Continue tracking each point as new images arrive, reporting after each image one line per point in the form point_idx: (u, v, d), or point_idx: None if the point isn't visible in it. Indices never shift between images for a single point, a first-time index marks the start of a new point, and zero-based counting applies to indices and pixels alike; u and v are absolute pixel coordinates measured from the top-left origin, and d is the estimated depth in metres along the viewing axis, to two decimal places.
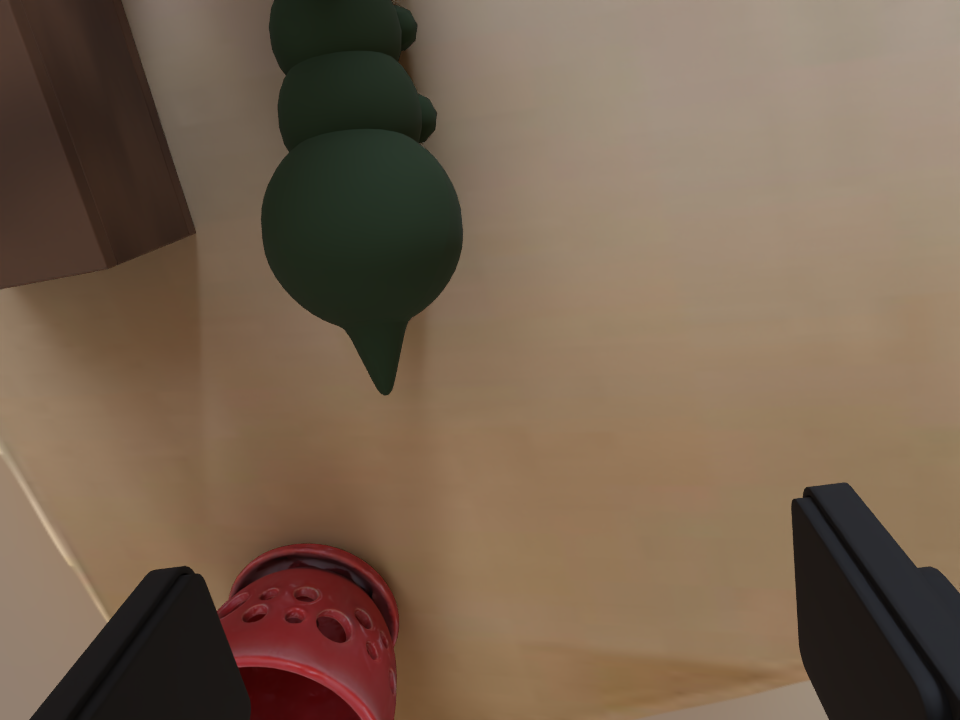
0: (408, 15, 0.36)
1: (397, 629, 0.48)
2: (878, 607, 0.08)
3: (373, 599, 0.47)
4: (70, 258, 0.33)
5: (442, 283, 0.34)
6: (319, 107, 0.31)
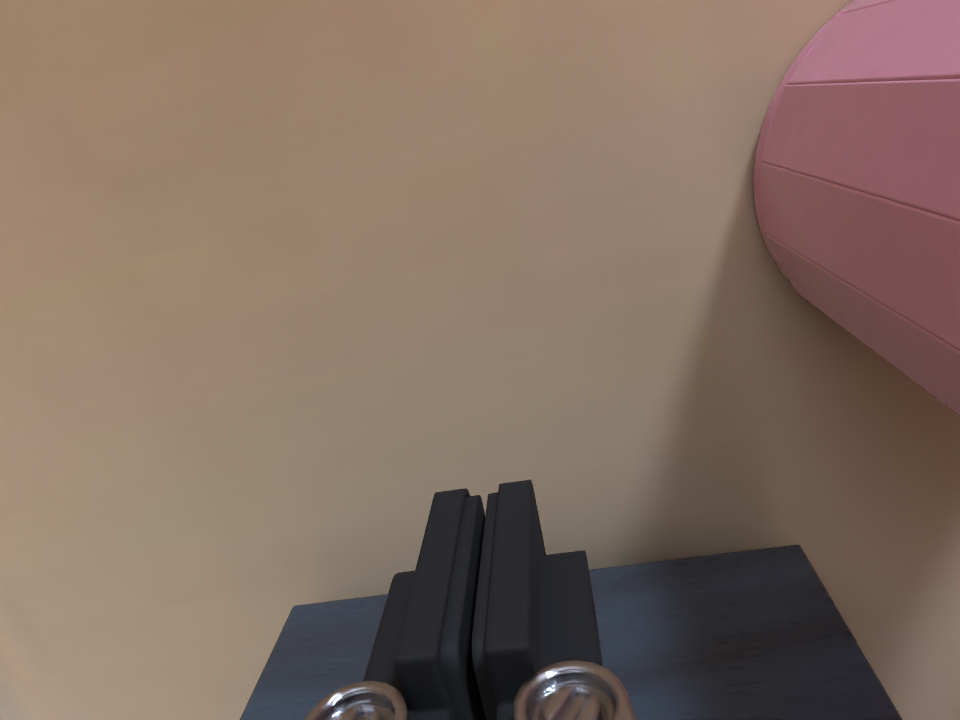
0: None
1: None
2: (486, 581, 0.09)
3: None
4: None
5: None
6: None
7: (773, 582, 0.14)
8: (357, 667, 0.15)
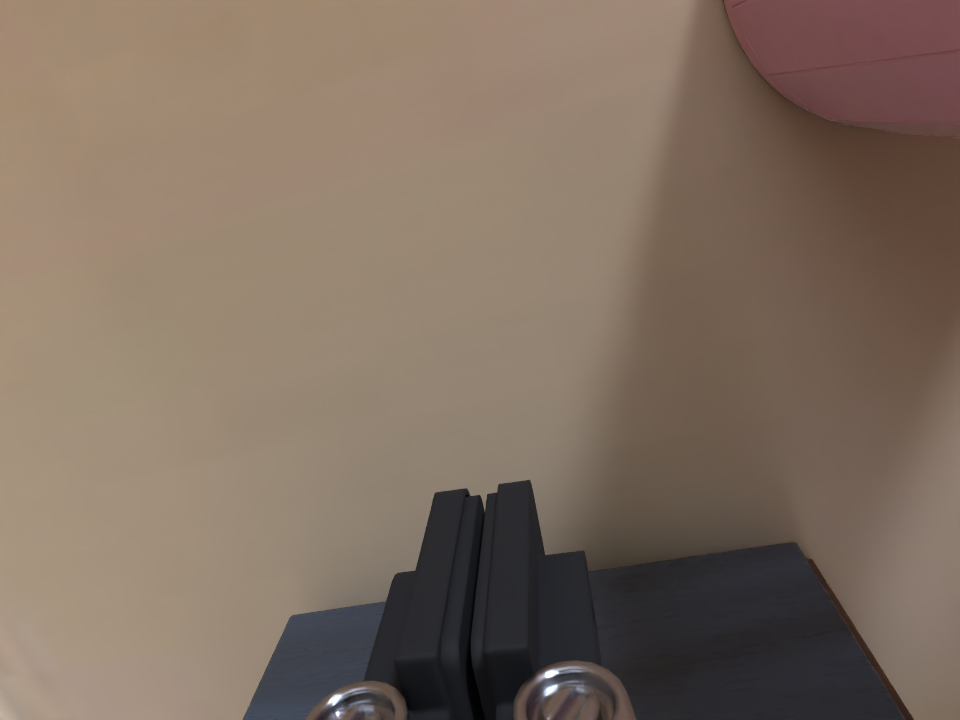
0: None
1: None
2: (485, 581, 0.09)
3: None
4: None
5: None
6: None
7: (770, 579, 0.14)
8: (355, 675, 0.15)
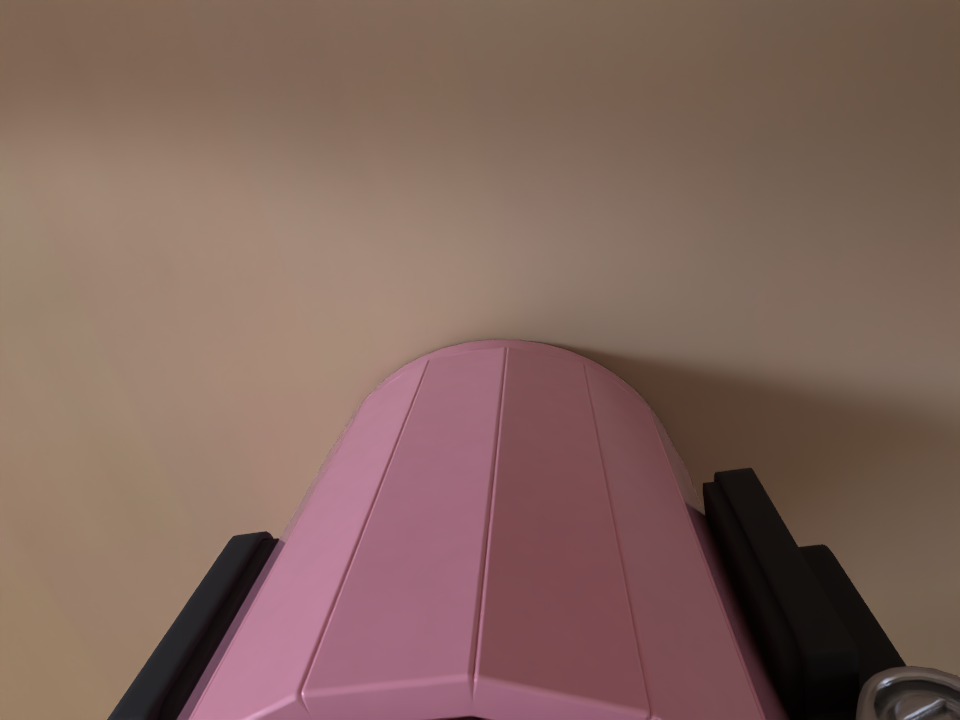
0: None
1: None
2: (756, 577, 0.08)
3: None
4: None
5: None
6: None
7: None
8: None
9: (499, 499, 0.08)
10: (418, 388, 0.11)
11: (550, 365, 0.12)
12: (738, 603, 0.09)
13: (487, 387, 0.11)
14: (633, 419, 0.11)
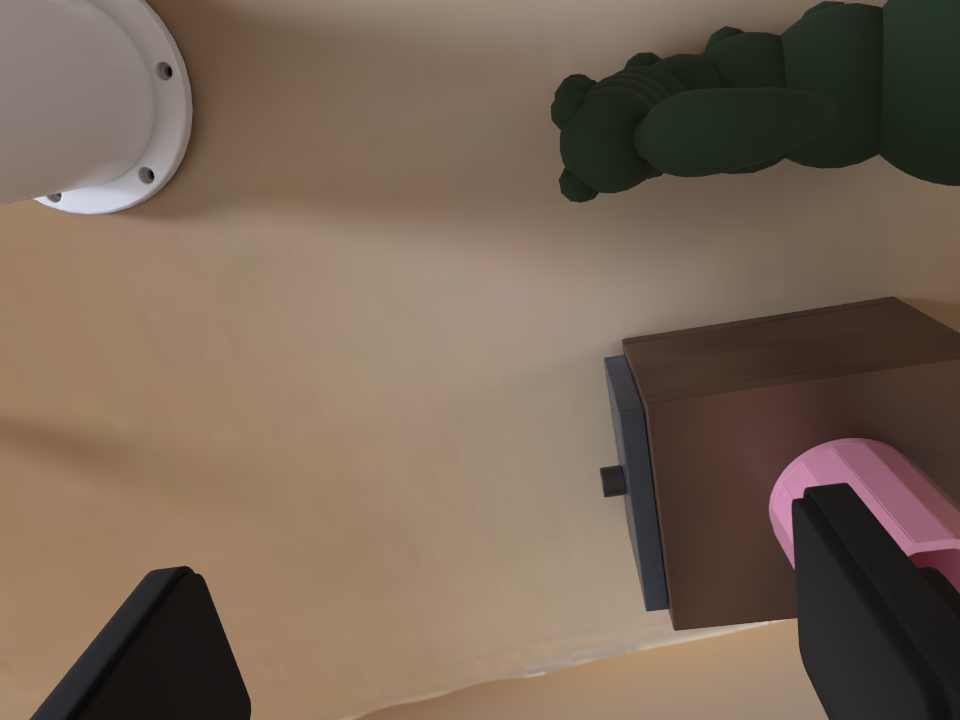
0: (718, 33, 0.34)
1: None
2: (878, 607, 0.08)
3: None
4: None
5: None
6: (853, 103, 0.29)
7: (607, 380, 0.40)
8: None
9: (921, 501, 0.27)
10: (843, 460, 0.31)
11: (885, 450, 0.31)
12: None
13: (876, 462, 0.30)
14: (921, 472, 0.31)
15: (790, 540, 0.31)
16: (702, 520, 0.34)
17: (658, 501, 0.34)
